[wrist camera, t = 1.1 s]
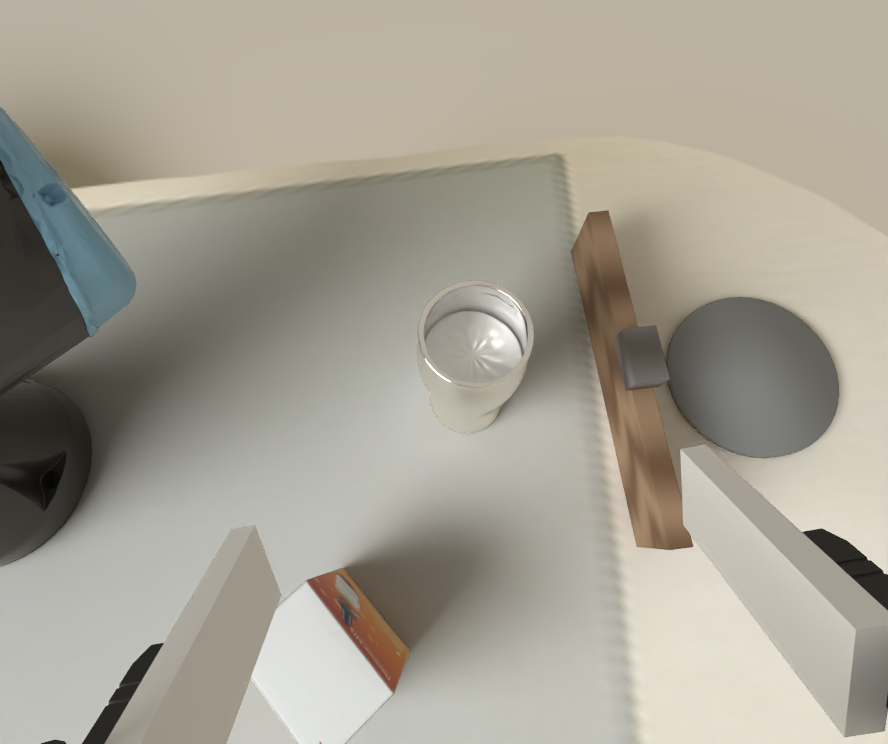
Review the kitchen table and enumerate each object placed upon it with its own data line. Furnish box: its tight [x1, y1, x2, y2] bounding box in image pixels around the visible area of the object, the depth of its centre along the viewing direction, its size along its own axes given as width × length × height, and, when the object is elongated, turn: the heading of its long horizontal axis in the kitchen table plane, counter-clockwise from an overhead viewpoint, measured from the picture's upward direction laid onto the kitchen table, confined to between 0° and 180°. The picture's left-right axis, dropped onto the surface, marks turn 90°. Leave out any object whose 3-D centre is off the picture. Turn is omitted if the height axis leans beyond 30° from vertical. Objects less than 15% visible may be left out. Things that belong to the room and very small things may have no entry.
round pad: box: [666, 297, 839, 458], centre depth 43 cm, size 14×14×1 cm
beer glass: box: [417, 280, 534, 433], centre depth 36 cm, size 7×7×15 cm
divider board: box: [571, 211, 693, 550], centre depth 39 cm, size 26×2×8 cm, turn 7°
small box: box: [251, 568, 410, 744], centre depth 33 cm, size 8×6×10 cm
